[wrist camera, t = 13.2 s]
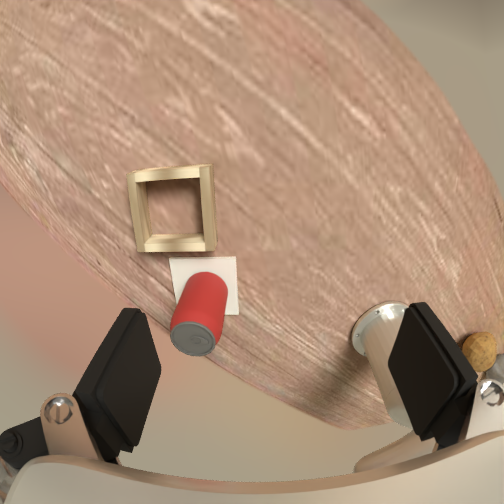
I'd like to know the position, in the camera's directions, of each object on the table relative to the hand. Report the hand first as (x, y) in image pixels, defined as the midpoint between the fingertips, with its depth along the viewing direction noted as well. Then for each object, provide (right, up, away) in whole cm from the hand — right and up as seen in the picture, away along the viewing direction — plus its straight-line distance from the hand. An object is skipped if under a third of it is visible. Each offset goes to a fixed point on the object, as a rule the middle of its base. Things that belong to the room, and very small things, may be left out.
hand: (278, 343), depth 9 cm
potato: (+51, -18, +41) cm, 68 cm away
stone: (+71, -29, +46) cm, 89 cm away
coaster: (-8, -2, +34) cm, 35 cm away
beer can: (-8, -2, +34) cm, 35 cm away
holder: (-11, +10, +29) cm, 33 cm away
